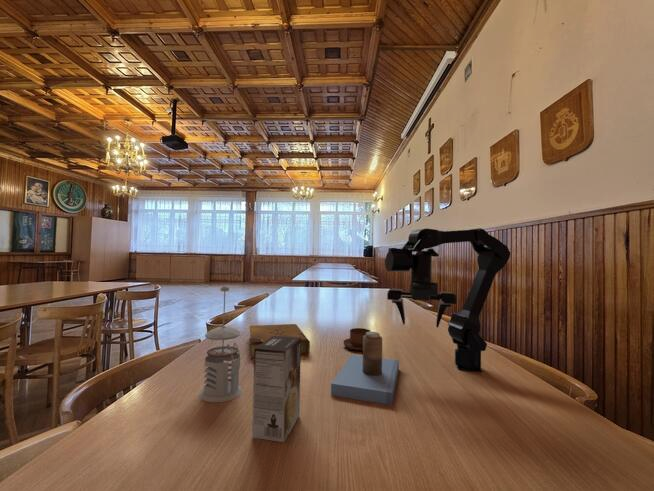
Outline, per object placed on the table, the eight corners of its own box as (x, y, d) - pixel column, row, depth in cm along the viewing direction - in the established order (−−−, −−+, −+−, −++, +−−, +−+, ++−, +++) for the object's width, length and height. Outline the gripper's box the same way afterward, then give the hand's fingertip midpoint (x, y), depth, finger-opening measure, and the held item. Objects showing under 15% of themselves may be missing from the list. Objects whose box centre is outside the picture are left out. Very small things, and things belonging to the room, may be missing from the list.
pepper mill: (385, 372, 78) (386, 333, 79) (374, 377, 75) (374, 337, 75) (370, 367, 82) (370, 330, 82) (358, 371, 78) (359, 333, 79)
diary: (309, 356, 98) (309, 339, 98) (250, 360, 93) (251, 342, 93) (297, 337, 120) (297, 323, 120) (249, 340, 115) (249, 325, 115)
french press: (231, 379, 78) (234, 283, 79) (254, 395, 70) (258, 287, 70) (192, 391, 71) (196, 285, 72) (213, 410, 63) (217, 290, 63)
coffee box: (270, 412, 62) (272, 334, 63) (300, 416, 61) (302, 336, 62) (250, 438, 53) (253, 347, 54) (284, 443, 52) (287, 350, 53)
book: (398, 370, 88) (398, 359, 88) (391, 406, 66) (391, 392, 67) (351, 364, 92) (351, 354, 92) (330, 396, 71) (331, 383, 71)
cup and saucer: (344, 342, 115) (345, 325, 115) (376, 344, 113) (376, 327, 113) (341, 352, 103) (342, 333, 103) (377, 354, 101) (377, 336, 101)
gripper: (385, 271, 83) (384, 329, 82) (459, 274, 77) (458, 336, 77) (389, 270, 93) (388, 320, 93) (454, 272, 88) (453, 326, 87)
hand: (420, 325), depth 87 cm, fingers open, 9 cm apart
